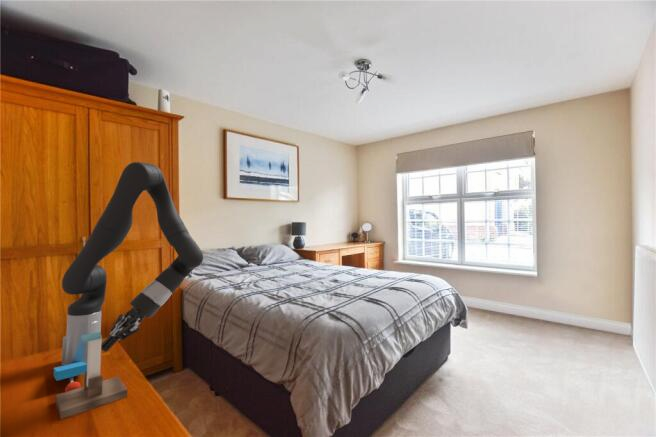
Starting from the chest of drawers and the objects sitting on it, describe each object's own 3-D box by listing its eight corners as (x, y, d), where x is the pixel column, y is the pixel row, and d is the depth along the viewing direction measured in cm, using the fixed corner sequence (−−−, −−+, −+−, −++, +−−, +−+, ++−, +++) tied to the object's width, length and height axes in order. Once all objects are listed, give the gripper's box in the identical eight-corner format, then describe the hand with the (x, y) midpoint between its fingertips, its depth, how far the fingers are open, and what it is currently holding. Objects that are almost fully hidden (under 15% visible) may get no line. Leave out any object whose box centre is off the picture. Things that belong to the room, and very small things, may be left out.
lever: (53, 391, 93) (56, 400, 81) (53, 367, 95) (57, 372, 82) (81, 383, 98) (89, 391, 86) (81, 361, 100) (89, 365, 87)
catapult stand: (117, 383, 91) (118, 359, 91) (127, 396, 84) (128, 371, 84) (55, 402, 80) (57, 376, 80) (61, 419, 74) (62, 391, 74)
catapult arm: (97, 382, 84) (99, 331, 85) (100, 387, 82) (102, 335, 82) (78, 388, 81) (81, 335, 82) (81, 393, 79) (83, 339, 79)
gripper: (135, 287, 96) (85, 336, 86) (150, 295, 87) (96, 350, 77) (153, 301, 99) (107, 349, 90) (168, 309, 91) (119, 363, 81)
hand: (102, 349), depth 84 cm, fingers closed
